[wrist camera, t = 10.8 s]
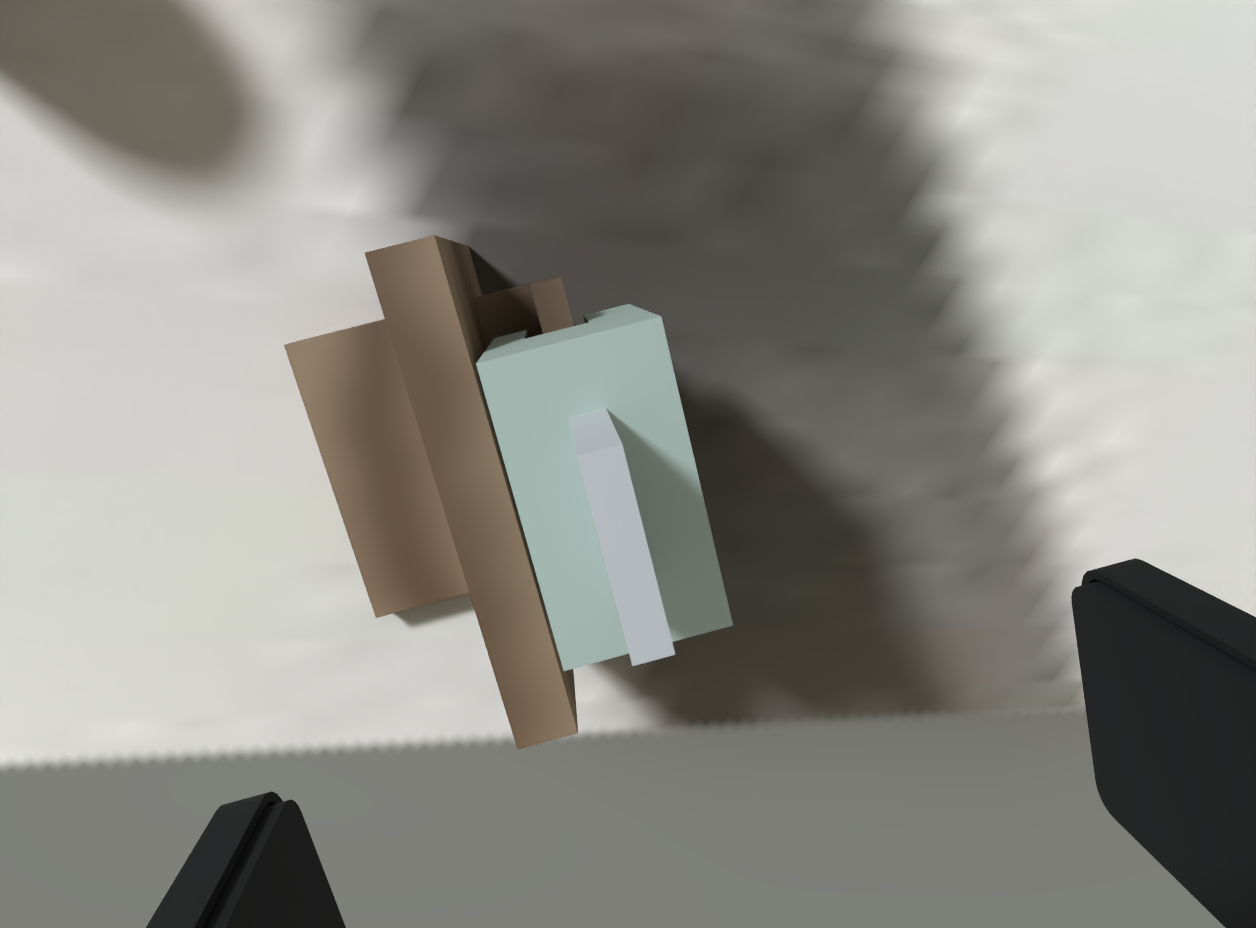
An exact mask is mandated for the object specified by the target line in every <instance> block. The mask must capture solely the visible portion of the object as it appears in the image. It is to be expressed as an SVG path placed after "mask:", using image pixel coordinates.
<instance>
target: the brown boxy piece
mask: <svg viewBox="0 0 1256 928" xmlns="http://www.w3.org/2000/svg"><path fill="white" fill-rule="evenodd" d="M365 255H366V259H367V262H368V265H369V268H370V272H371V275H372V278H373V281H374V285H375V288H376V291H377V294H378V298H379V301H380V304H381V307H382V311H383V314H384V317H385V319H383V320H380V321H376V322H372V323H368V324H364V325H360V326H356V327H352V328H348V329H344V330H340V331H336V332H332V333H328V334H325V335H321V336H317V337H313V338H309V339H305V340H301V341H297V342H293V343H290V344H286V345H284V346H285V349H286V352H287V355H288V358H289V361H290V364H291V367H292V370H293V373H294V376H295V379H296V382H297V385H298V388H299V391H300V394H301V397H302V400H303V403H304V406H305V409H306V412H307V415H308V417H309V420H310V423H311V426H312V429H313V432H314V435H315V438H316V441H317V444H318V447H319V450H320V453H321V456H322V459H323V462H324V465H325V468H326V471H327V474H328V477H329V480H330V483H331V486H332V489H333V492H334V495H335V498H336V501H337V504H338V507H339V510H340V513H341V515H342V518H343V521H344V524H345V527H346V530H347V533H348V536H349V539H350V542H351V545H352V548H353V551H354V554H355V557H356V560H357V563H358V566H359V569H360V572H361V575H362V578H363V581H364V584H365V587H366V590H367V593H368V596H369V599H370V602H371V605H372V608H373V610H374V613H375V616H376V618H378V617H381V616H385V615H389V614H393V613H396V612H400V611H404V610H408V609H411V608H415V607H419V606H422V605H426V604H430V603H434V602H437V601H441V600H445V599H449V598H452V597H456V596H460V595H464V594H467V593H470V596H471V600H472V603H473V606H474V609H475V613H476V616H477V619H478V622H479V625H480V629H481V632H482V635H483V638H484V642H485V645H486V648H487V651H488V655H489V658H490V661H491V664H492V668H493V671H494V674H495V677H496V681H497V684H498V687H499V690H500V694H501V697H502V700H503V703H504V707H505V710H506V713H507V716H508V720H509V723H510V726H511V729H512V733H513V736H514V739H515V742H516V746H517V749H522V748H526V747H530V746H533V745H537V744H540V743H544V742H548V741H551V740H555V739H559V738H562V737H566V736H570V735H573V734H577V733H578V726H577V713H576V700H575V687H574V673H573V669H570V670H566V671H563V667H562V664H561V660H560V657H559V653H558V650H557V646H556V643H555V639H554V636H553V632H552V629H551V625H550V621H549V618H548V614H547V611H546V607H545V604H544V600H543V597H542V593H541V590H540V586H539V583H538V579H537V576H536V572H535V569H534V565H533V562H532V558H531V555H530V551H529V548H528V544H527V541H526V537H525V534H524V530H523V527H522V523H521V520H520V516H519V513H518V509H517V506H516V502H515V499H514V495H513V492H512V488H511V485H510V481H509V478H508V474H507V471H506V467H505V464H504V460H503V457H502V453H501V450H500V446H499V443H498V439H497V436H496V432H495V429H494V425H493V422H492V418H491V415H490V411H489V408H488V404H487V401H486V397H485V394H484V390H483V387H482V383H481V380H480V376H479V373H478V369H477V366H476V363H477V362H478V360H479V359H480V357H481V356H482V355H483V353H484V352H485V350H486V349H487V348H488V346H489V345H490V343H491V342H492V341H493V339H494V338H497V337H501V336H505V335H509V334H512V333H516V332H520V331H524V330H527V333H528V337H529V338H530V337H533V336H537V335H541V334H545V333H549V332H553V331H557V330H561V329H565V328H569V327H573V326H574V324H573V320H572V316H571V312H570V308H569V305H568V301H567V297H566V293H565V289H564V285H563V281H562V278H561V277H559V276H556V277H553V278H549V279H545V280H541V281H537V282H533V283H529V284H525V285H521V286H517V287H513V288H509V289H505V290H501V291H497V292H494V293H490V294H486V295H482V292H481V288H480V285H479V281H478V277H477V274H476V270H475V267H474V263H473V260H472V256H471V253H470V249H469V246H466V245H463V244H460V243H456V242H453V241H450V240H447V239H444V238H441V237H438V236H435V235H434V236H430V237H426V238H422V239H418V240H414V241H410V242H406V243H402V244H398V245H394V246H390V247H386V248H382V249H378V250H374V251H370V252H366V253H365Z"/></svg>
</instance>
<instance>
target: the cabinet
mask: <svg viewBox="0 0 1256 928" xmlns="http://www.w3.org/2000/svg"><path fill="white" fill-rule="evenodd" d="M583 317H584V321H585V324H581V325H577V326H573V327H569V328H565V329H561V330H557V331H553V332H549V333H545V334H541V335H537V336H533V337H530V338H529V337H528V333H527V330H524V331H520V332H516V333H512V334H509V335H505V336H501V337H497V338H494V339H493V341H492V342H491V343H490V345H489V346H488V348H487V349H486V350H485V352H484V353H483V355H482V356H481V357H480V359H479V360H478V362H477V363H476V366H477V369H478V373H479V376H480V380H481V383H482V387H483V390H484V394H485V397H486V401H487V404H488V408H489V411H490V415H491V418H492V422H493V425H494V429H495V432H496V436H497V439H498V443H499V446H500V450H501V453H502V457H503V460H504V464H505V467H506V471H507V474H508V478H509V481H510V485H511V488H512V492H513V495H514V499H515V502H516V506H517V509H518V513H519V516H520V520H521V523H522V527H523V530H524V534H525V537H526V541H527V544H528V548H529V551H530V555H531V558H532V562H533V565H534V569H535V572H536V576H537V579H538V583H539V586H540V590H541V593H542V597H543V600H544V604H545V607H546V611H547V614H548V618H549V621H550V625H551V629H552V632H553V636H554V639H555V643H556V646H557V650H558V653H559V657H560V660H561V664H562V667H563V671H566V670H570V669H574V668H578V667H581V666H585V665H589V664H592V663H596V662H600V661H604V660H607V659H611V658H615V657H618V656H622V655H626V654H629V655H630V659H631V663H632V666H635V665H639V664H643V663H646V662H650V661H654V660H658V659H661V658H665V657H669V656H672V655H675V651H674V647H673V643H672V642H674V641H678V640H681V639H685V638H689V637H693V636H696V635H700V634H704V633H707V632H711V631H715V630H719V629H722V628H726V627H730V626H733V622H732V618H731V614H730V610H729V605H728V601H727V597H726V592H725V588H724V584H723V580H722V575H721V571H720V567H719V562H718V558H717V554H716V550H715V545H714V541H713V537H712V532H711V528H710V524H709V520H708V515H707V511H706V507H705V502H704V498H703V494H702V490H701V485H700V481H699V477H698V473H697V468H696V464H695V460H694V455H693V451H692V447H691V443H690V438H689V434H688V430H687V425H686V421H685V417H684V413H683V408H682V404H681V400H680V395H679V391H678V387H677V383H676V378H675V374H674V370H673V365H672V361H671V357H670V353H669V348H668V344H667V340H666V335H665V331H664V327H663V323H662V318H661V316H659V315H656V314H653V313H651V312H648V311H646V310H643V309H641V308H638V307H635V306H633V305H630V304H627V305H623V306H619V307H615V308H611V309H607V310H603V311H599V312H595V313H591V314H587V315H583Z"/></svg>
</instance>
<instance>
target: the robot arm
mask: <svg viewBox="0 0 1256 928" xmlns="http://www.w3.org/2000/svg"><path fill="white" fill-rule="evenodd" d="M1072 608H1073V616H1074V623H1075V631H1076V638H1077V646H1078V653H1079V661H1080V668H1081V676H1082V683H1083V691H1084V698H1085V705H1086V713H1087V720H1088V728H1089V735H1090V742H1091V749H1092V757H1093V765H1094V773H1095V780H1096V785H1097V789H1098V792H1099V795H1100V797H1101V799H1102V801H1103V803H1104V805H1105V807H1106V808H1107V810H1108V811H1109V813H1110V814H1111V815H1112V816H1113V817H1114V819H1116V821H1117V822H1118V823H1119V824H1121V825H1122V826H1123V827H1124V828H1125V829H1126V830H1127V831H1128V832H1129V833H1130V834H1131V835H1132V836H1133V837H1134V838H1135V839H1136V840H1137V841H1138V842H1139V843H1140V844H1141V845H1142V846H1143V847H1144V848H1145V849H1146V850H1147V851H1148V852H1149V853H1150V854H1151V855H1152V856H1153V857H1154V858H1155V859H1156V860H1157V861H1158V862H1159V863H1160V864H1161V865H1162V866H1163V867H1164V868H1165V869H1167V871H1169V873H1171V875H1173V876H1174V877H1175V878H1176V879H1177V880H1178V881H1179V882H1180V883H1181V884H1182V885H1183V886H1184V887H1185V888H1186V889H1187V890H1188V891H1189V892H1190V893H1191V894H1192V895H1193V896H1194V897H1195V898H1196V899H1197V900H1198V901H1199V902H1200V903H1201V904H1202V905H1203V906H1204V907H1205V908H1206V909H1207V910H1208V911H1209V912H1210V913H1211V914H1212V915H1213V916H1214V917H1215V918H1216V919H1217V920H1218V921H1219V922H1220V923H1222V925H1224V926H1225V927H1226V928H1256V617H1254V616H1252V615H1250V614H1248V613H1246V612H1244V611H1242V610H1240V609H1238V608H1236V607H1234V606H1232V605H1230V604H1228V603H1226V602H1224V601H1222V600H1220V599H1218V598H1216V597H1214V596H1212V595H1210V594H1208V593H1206V592H1204V591H1202V590H1200V589H1198V588H1196V587H1194V586H1192V585H1190V584H1188V583H1186V582H1184V581H1182V580H1180V579H1178V578H1176V577H1174V576H1172V575H1170V574H1168V573H1166V572H1164V571H1162V570H1160V569H1158V568H1156V567H1154V566H1152V565H1150V564H1148V563H1146V562H1144V561H1142V560H1139V559H1132V560H1128V561H1124V562H1120V563H1117V564H1113V565H1109V566H1105V567H1102V568H1098V569H1094V570H1091V571H1087V572H1086V573H1085V575H1084V576H1083V580H1082V586H1079V587H1075V589H1074V590H1073V592H1072ZM146 928H346V927H345V924H344V922H343V919H342V917H341V914H340V912H339V909H338V906H337V904H336V901H335V899H334V896H333V893H332V891H331V888H330V885H329V883H328V880H327V878H326V875H325V872H324V870H323V867H322V865H321V862H320V860H319V857H318V854H317V852H316V849H315V846H314V844H313V841H312V838H311V836H310V833H309V831H308V828H307V825H306V823H305V820H304V818H303V815H302V812H301V810H300V808H299V806H298V805H297V803H296V802H295V801H293V800H288V801H284V802H283V801H282V799H281V798H280V797H279V796H278V794H276V793H274V792H269V793H265V794H261V795H257V796H254V797H250V798H247V799H243V800H239V801H235V802H232V803H228V804H224V805H221V806H220V807H219V809H217V811H216V812H215V814H214V815H213V817H212V819H211V821H210V822H209V824H208V826H207V827H206V829H205V831H204V832H203V834H202V835H201V837H200V839H199V841H198V842H197V844H196V846H195V847H194V849H193V851H192V852H191V854H190V855H189V857H188V859H187V860H186V862H185V864H184V865H183V867H182V869H181V870H180V872H179V874H178V875H177V877H176V879H175V880H174V882H173V884H172V885H171V887H170V889H169V890H168V892H167V894H166V895H165V897H164V898H163V900H162V902H161V903H160V905H159V907H158V908H157V910H156V912H155V913H154V915H153V917H152V918H151V920H150V922H149V923H148V925H147V927H146Z"/></svg>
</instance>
